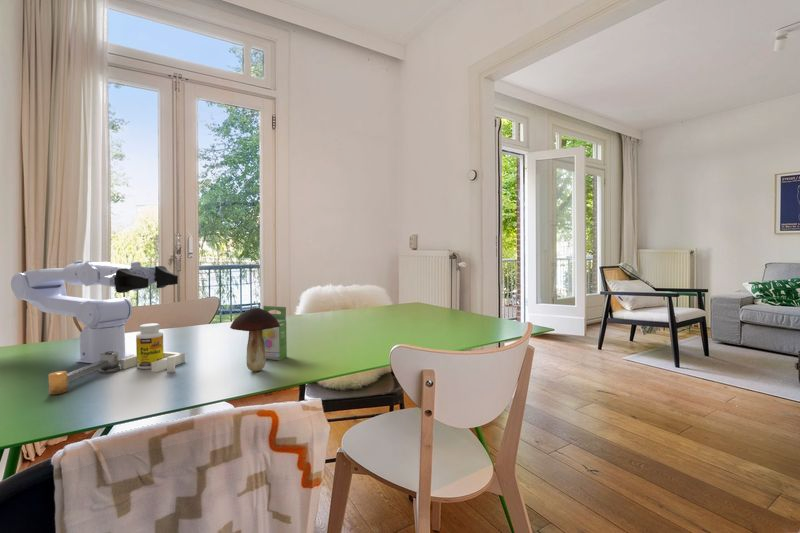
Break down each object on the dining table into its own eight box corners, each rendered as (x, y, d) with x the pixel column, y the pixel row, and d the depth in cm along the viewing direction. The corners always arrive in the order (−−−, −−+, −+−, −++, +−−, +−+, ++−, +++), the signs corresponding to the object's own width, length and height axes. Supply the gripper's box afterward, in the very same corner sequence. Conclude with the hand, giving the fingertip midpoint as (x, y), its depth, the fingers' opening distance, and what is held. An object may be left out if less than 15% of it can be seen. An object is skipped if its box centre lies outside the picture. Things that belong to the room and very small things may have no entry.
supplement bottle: (136, 371, 93) (135, 328, 92) (136, 365, 97) (135, 323, 97) (164, 367, 96) (163, 325, 95) (163, 361, 100) (162, 321, 100)
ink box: (255, 358, 104) (254, 307, 103) (264, 354, 107) (263, 305, 107) (278, 360, 102) (278, 309, 101) (287, 356, 106) (286, 306, 105)
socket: (120, 368, 95) (120, 359, 94) (151, 358, 103) (151, 350, 103) (155, 372, 92) (155, 363, 92) (184, 361, 100) (184, 353, 100)
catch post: (165, 372, 92) (165, 357, 92) (171, 370, 93) (170, 355, 93) (171, 373, 92) (170, 358, 91) (176, 370, 93) (176, 356, 93)
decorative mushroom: (268, 361, 101) (267, 303, 100) (288, 371, 93) (288, 308, 92) (223, 370, 94) (222, 307, 93) (241, 382, 85) (240, 313, 85)
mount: (94, 372, 91) (94, 369, 91) (111, 367, 95) (111, 364, 95) (108, 374, 90) (108, 370, 90) (124, 369, 94) (124, 365, 94)
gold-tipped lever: (107, 367, 95) (106, 349, 94) (122, 367, 95) (122, 350, 94) (43, 394, 77) (42, 373, 77) (61, 394, 77) (60, 373, 77)
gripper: (90, 261, 91) (132, 266, 87) (149, 259, 105) (188, 262, 100) (91, 292, 92) (132, 298, 87) (149, 285, 106) (188, 290, 101)
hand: (162, 281), depth 94 cm, fingers open, 7 cm apart
